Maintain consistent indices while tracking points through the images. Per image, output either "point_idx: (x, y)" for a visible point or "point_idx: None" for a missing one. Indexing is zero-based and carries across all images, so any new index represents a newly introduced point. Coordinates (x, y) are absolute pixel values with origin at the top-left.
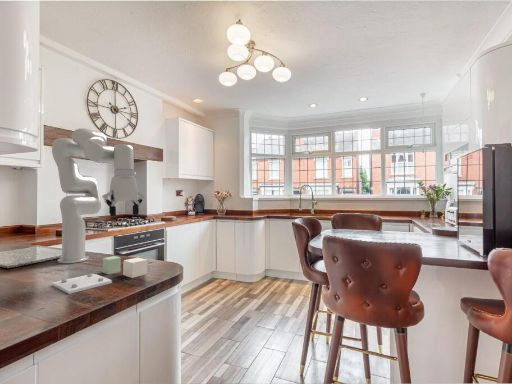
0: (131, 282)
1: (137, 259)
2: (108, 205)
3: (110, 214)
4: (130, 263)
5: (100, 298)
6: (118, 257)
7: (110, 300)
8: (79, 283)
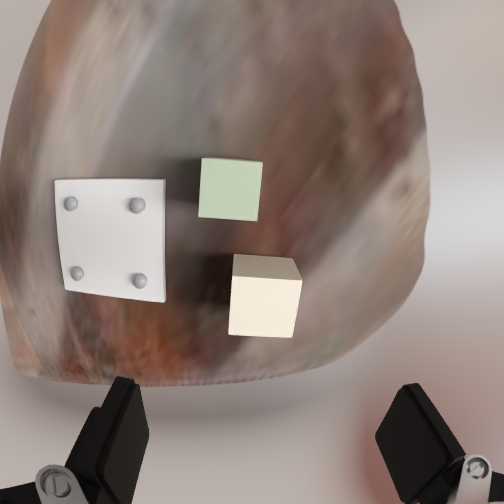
0: (206, 331)
1: (275, 307)
2: (47, 476)
3: (113, 390)
4: (229, 320)
5: (110, 357)
6: (252, 210)
7: None
8: (93, 253)
